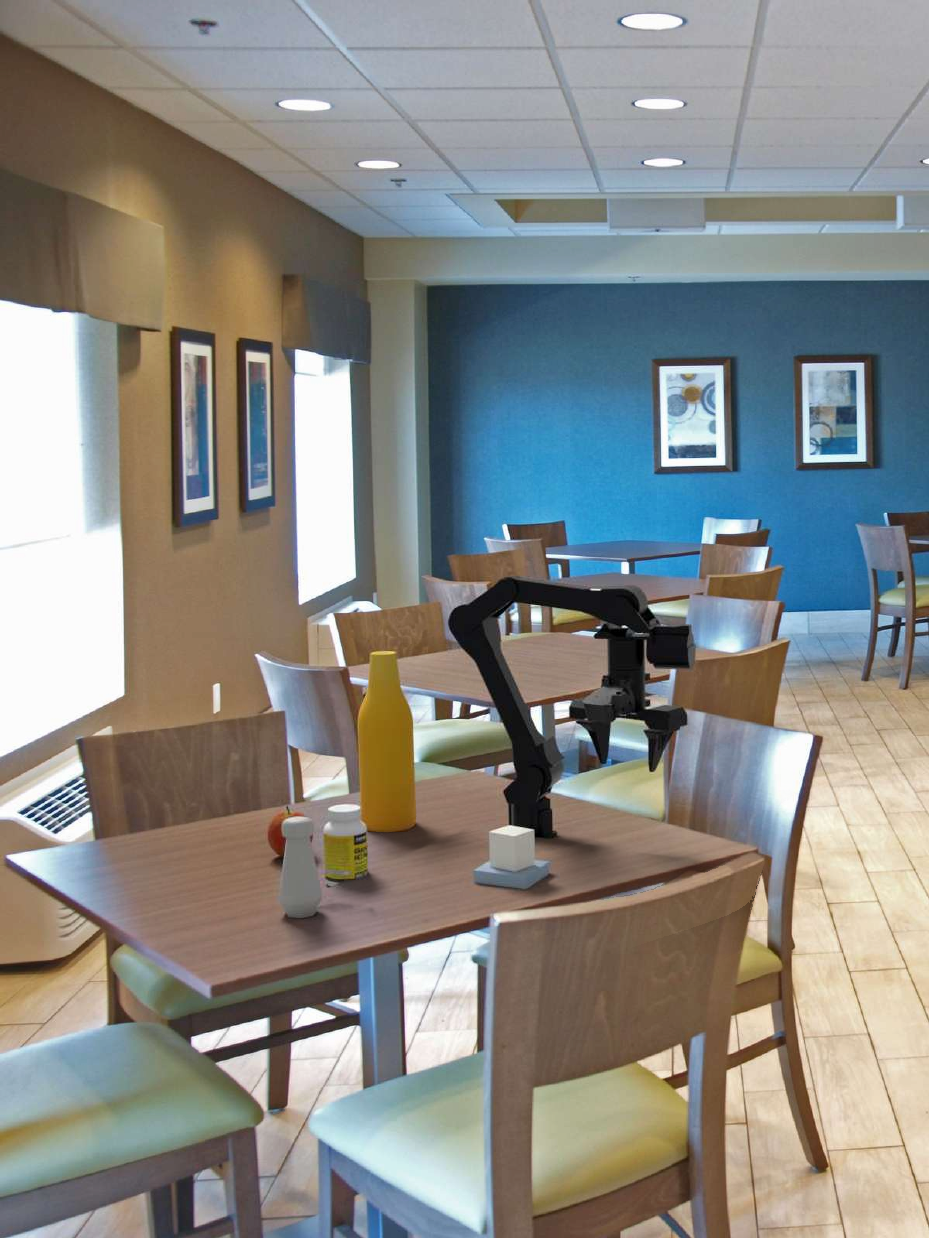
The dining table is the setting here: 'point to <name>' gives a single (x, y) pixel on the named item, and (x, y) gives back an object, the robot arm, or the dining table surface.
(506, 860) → the cream block
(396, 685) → the beer bottle
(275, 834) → the fruit
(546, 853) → the dining table surface
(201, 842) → the dining table surface
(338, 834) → the pill bottle
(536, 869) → the slate slab
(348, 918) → the dining table surface
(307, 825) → the salt shaker
